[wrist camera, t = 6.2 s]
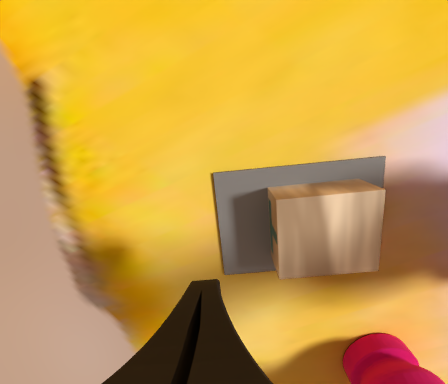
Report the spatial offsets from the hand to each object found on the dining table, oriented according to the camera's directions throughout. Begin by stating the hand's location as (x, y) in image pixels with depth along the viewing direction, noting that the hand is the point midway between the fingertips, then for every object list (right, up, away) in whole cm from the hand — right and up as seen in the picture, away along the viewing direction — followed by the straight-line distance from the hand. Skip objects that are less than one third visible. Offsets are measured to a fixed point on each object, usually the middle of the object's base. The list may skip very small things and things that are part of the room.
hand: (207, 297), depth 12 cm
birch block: (+4, +2, +6) cm, 8 cm away
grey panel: (+7, +3, +8) cm, 11 cm away
